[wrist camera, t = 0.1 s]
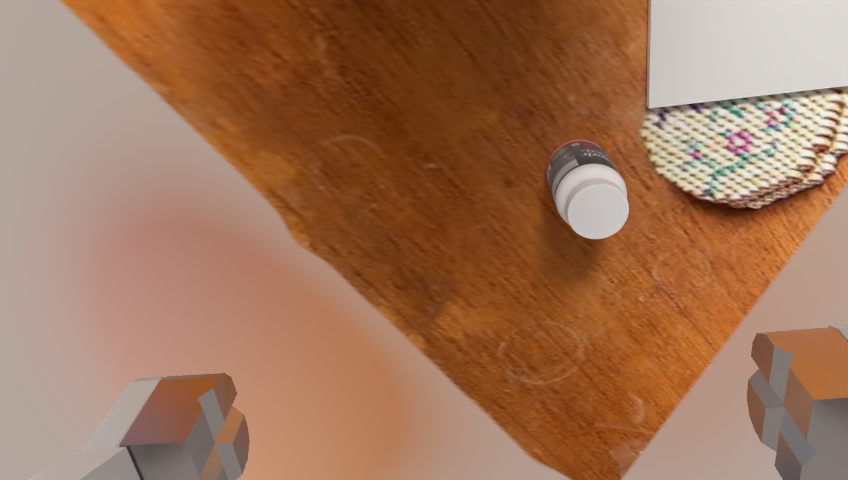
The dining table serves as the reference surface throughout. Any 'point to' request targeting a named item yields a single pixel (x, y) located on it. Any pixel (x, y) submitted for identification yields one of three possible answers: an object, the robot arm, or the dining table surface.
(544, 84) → the dining table surface
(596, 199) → the pill bottle
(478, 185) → the dining table surface
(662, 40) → the white square tile
